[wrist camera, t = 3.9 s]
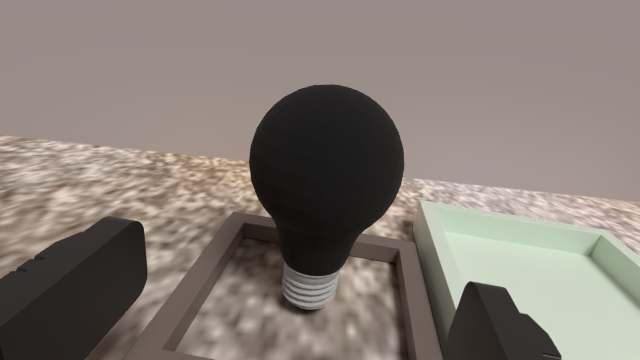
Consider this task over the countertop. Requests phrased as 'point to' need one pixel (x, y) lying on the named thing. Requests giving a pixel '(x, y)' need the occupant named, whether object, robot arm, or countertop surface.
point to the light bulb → (324, 181)
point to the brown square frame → (186, 300)
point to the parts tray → (535, 276)
